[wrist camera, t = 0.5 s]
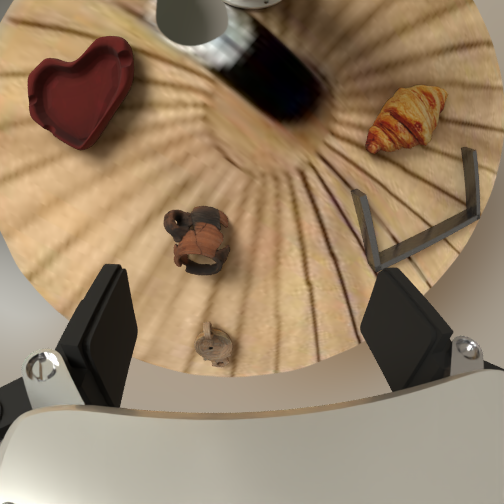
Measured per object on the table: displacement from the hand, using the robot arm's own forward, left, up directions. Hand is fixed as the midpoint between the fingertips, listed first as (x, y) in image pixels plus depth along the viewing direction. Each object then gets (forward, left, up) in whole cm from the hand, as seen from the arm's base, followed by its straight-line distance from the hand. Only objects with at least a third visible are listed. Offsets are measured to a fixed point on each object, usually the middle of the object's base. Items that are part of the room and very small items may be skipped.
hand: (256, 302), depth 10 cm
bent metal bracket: (+21, +30, -35) cm, 51 cm away
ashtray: (-19, -16, -35) cm, 43 cm away
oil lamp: (+31, -18, -35) cm, 50 cm away
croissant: (+4, +30, -35) cm, 47 cm away
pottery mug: (+9, -9, -35) cm, 38 cm away
